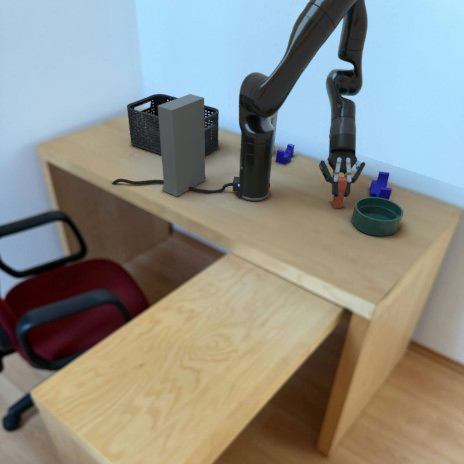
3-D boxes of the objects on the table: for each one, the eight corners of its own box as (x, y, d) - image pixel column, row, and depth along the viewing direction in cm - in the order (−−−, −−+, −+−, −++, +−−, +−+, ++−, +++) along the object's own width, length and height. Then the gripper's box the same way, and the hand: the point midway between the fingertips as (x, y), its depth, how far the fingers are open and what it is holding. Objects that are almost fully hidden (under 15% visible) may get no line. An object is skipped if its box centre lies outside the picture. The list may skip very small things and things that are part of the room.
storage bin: (222, 146, 160) (222, 108, 151) (190, 165, 148) (189, 125, 139) (161, 129, 171) (158, 92, 162) (126, 145, 158) (121, 106, 149)
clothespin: (333, 208, 130) (339, 181, 124) (332, 202, 132) (337, 175, 127) (341, 208, 130) (348, 181, 124) (340, 202, 132) (346, 176, 127)
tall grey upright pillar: (190, 175, 143) (188, 93, 126) (205, 180, 140) (204, 97, 123) (162, 191, 134) (154, 105, 117) (177, 197, 132) (172, 110, 115)
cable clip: (369, 188, 140) (374, 170, 136) (383, 190, 139) (389, 172, 135) (370, 207, 131) (375, 188, 127) (386, 209, 130) (391, 190, 126)
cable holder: (284, 164, 151) (285, 153, 148) (275, 161, 152) (277, 150, 149) (296, 157, 155) (298, 146, 153) (288, 154, 157) (289, 143, 154)
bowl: (355, 236, 119) (360, 220, 116) (347, 211, 129) (351, 196, 125) (403, 237, 119) (409, 222, 116) (391, 213, 129) (396, 197, 125)
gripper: (321, 130, 124) (319, 191, 123) (370, 132, 124) (369, 193, 123) (316, 142, 131) (314, 199, 130) (362, 143, 131) (361, 201, 131)
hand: (341, 196), depth 127 cm, fingers closed on clothespin, 2 cm apart
